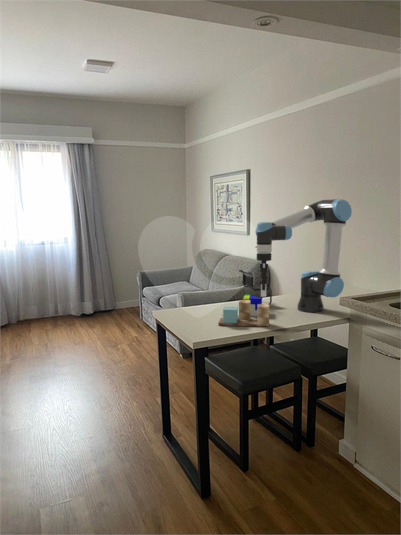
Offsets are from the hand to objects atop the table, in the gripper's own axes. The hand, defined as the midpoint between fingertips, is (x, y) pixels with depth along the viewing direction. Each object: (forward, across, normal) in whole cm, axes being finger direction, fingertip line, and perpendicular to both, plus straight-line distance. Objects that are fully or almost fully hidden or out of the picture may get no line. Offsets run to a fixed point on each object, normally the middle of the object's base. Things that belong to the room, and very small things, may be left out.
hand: (263, 293), depth 206 cm
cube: (+15, 0, -17) cm, 23 cm away
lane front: (+16, 0, -10) cm, 19 cm away
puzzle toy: (+17, -23, -6) cm, 29 cm away
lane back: (+16, -9, -15) cm, 24 cm away
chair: (+17, -45, -5) cm, 48 cm away
